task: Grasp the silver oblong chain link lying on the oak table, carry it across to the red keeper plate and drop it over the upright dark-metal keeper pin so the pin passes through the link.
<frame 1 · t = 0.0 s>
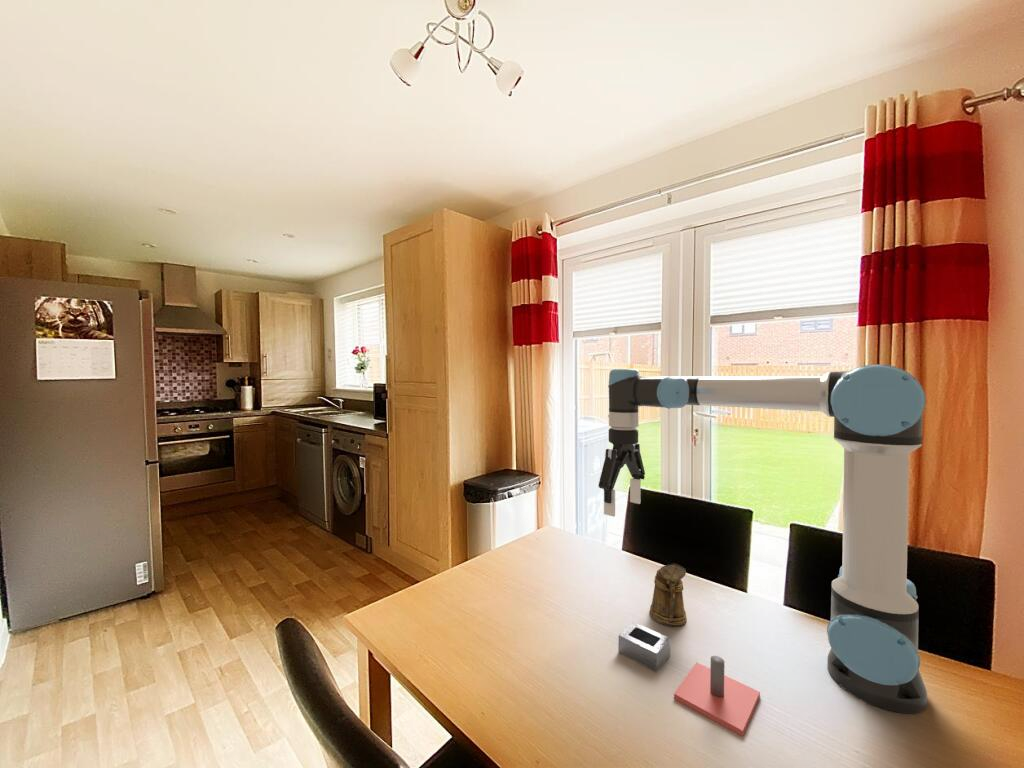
hand: (622, 508, 107), 28 cm above the table, fingers open, 13 cm apart
keeper: (717, 697, 79), on the table
wooden mug: (669, 622, 104), on the table
link: (644, 654, 92), on the table
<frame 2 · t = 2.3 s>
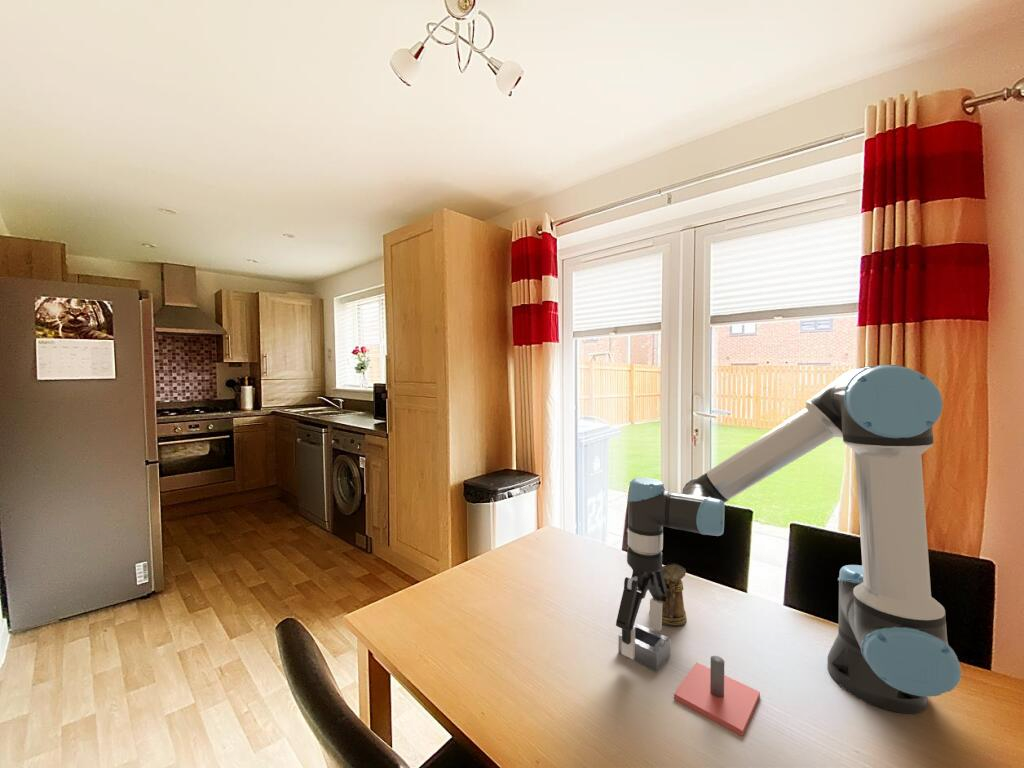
hand: (642, 641, 92), 3 cm above the table, fingers open, 13 cm apart
nothing on the table moved.
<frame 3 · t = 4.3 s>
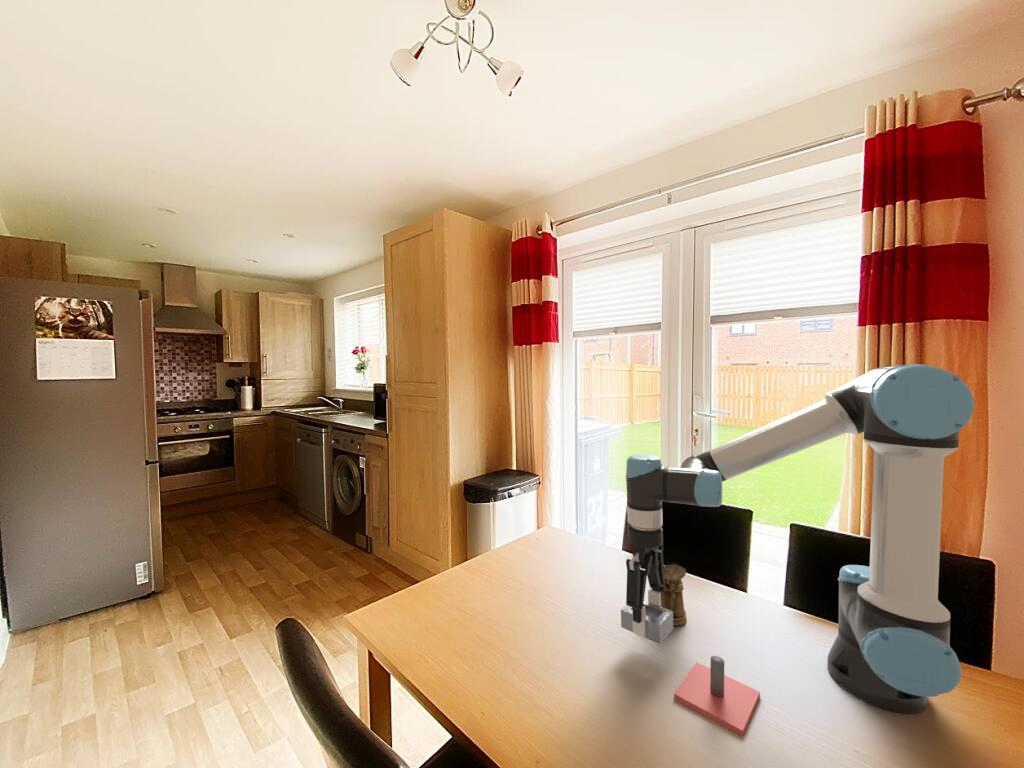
hand: (647, 626, 92), 6 cm above the table, fingers closed on link, 7 cm apart
link: (647, 628, 92), point 6 cm above the table, touching gripper
everything else where it was.
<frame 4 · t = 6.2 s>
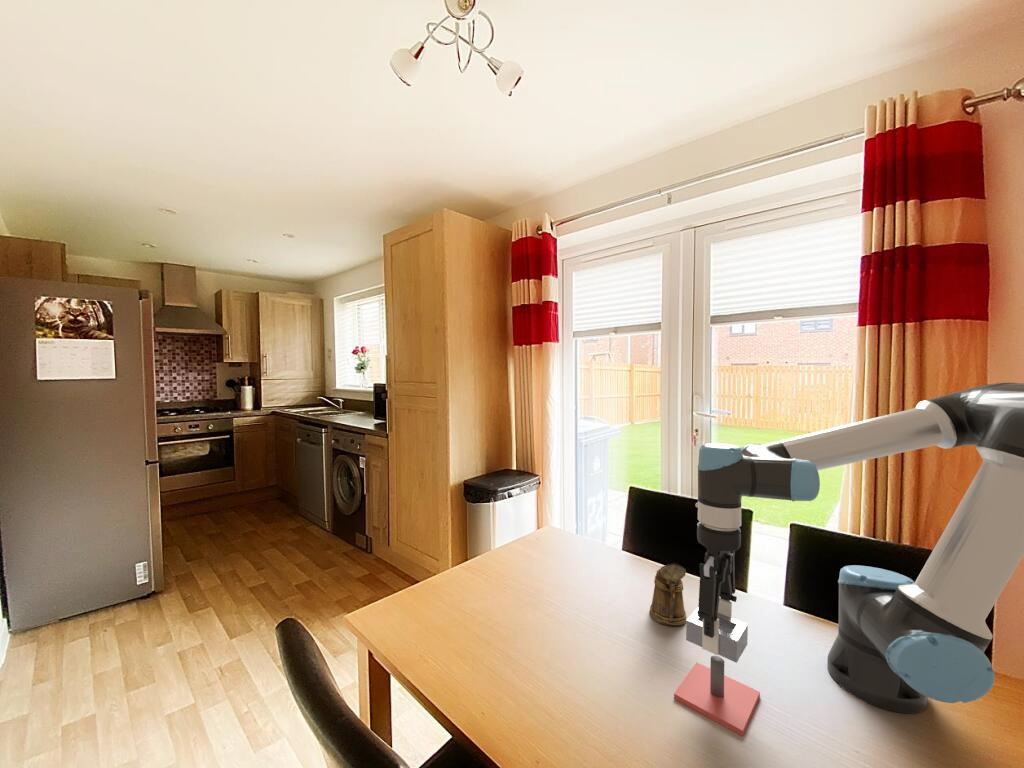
hand: (717, 641, 79), 11 cm above the table, fingers closed on link, 7 cm apart
link: (716, 642, 79), point 11 cm above the table, touching gripper
everything else where it was.
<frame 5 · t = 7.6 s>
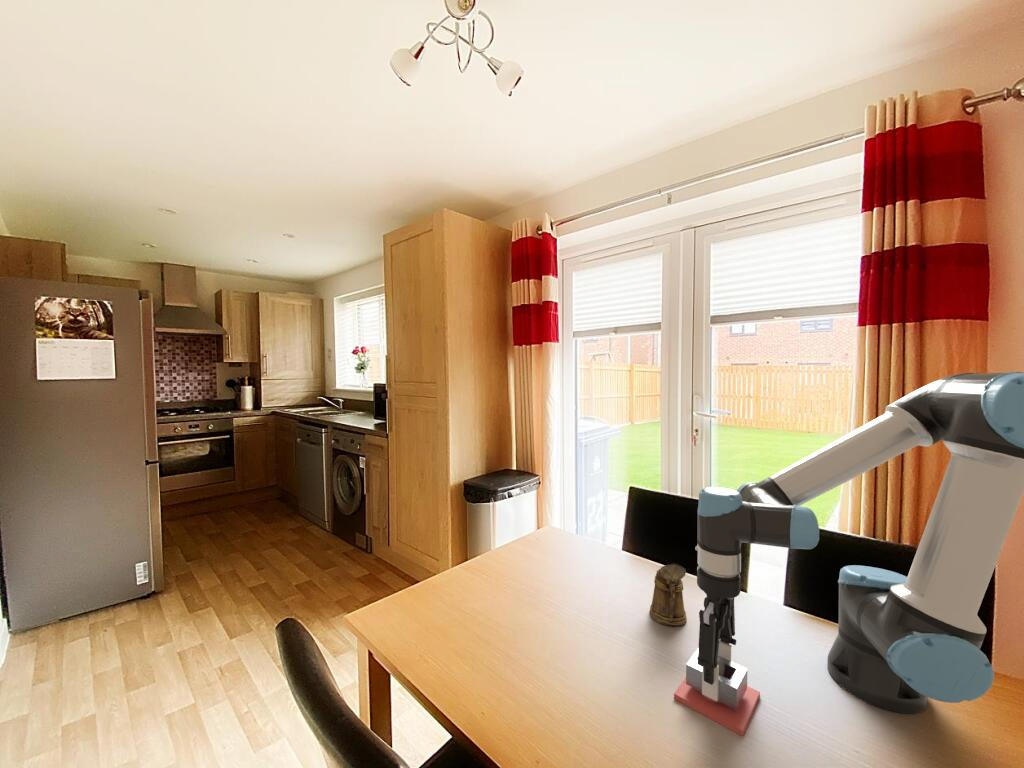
hand: (716, 685, 79), 2 cm above the table, fingers closed on link, 7 cm apart
link: (716, 686, 80), point 2 cm above the table, touching gripper
everything else where it was.
when the fingers open (2 cm above the table, at t = 8.5 s): link stays where it is, resting on keeper.
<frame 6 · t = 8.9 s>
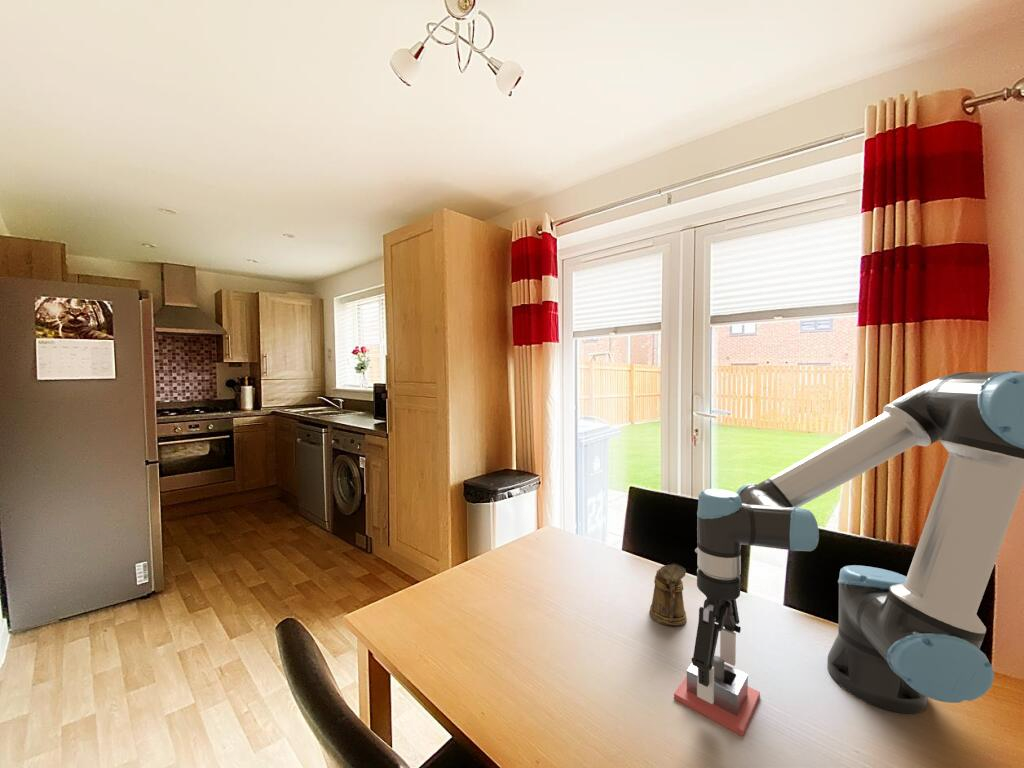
hand: (717, 679, 79), 4 cm above the table, fingers open, 13 cm apart
link: (716, 692, 80), point 1 cm above the table, touching keeper
everything else where it was.
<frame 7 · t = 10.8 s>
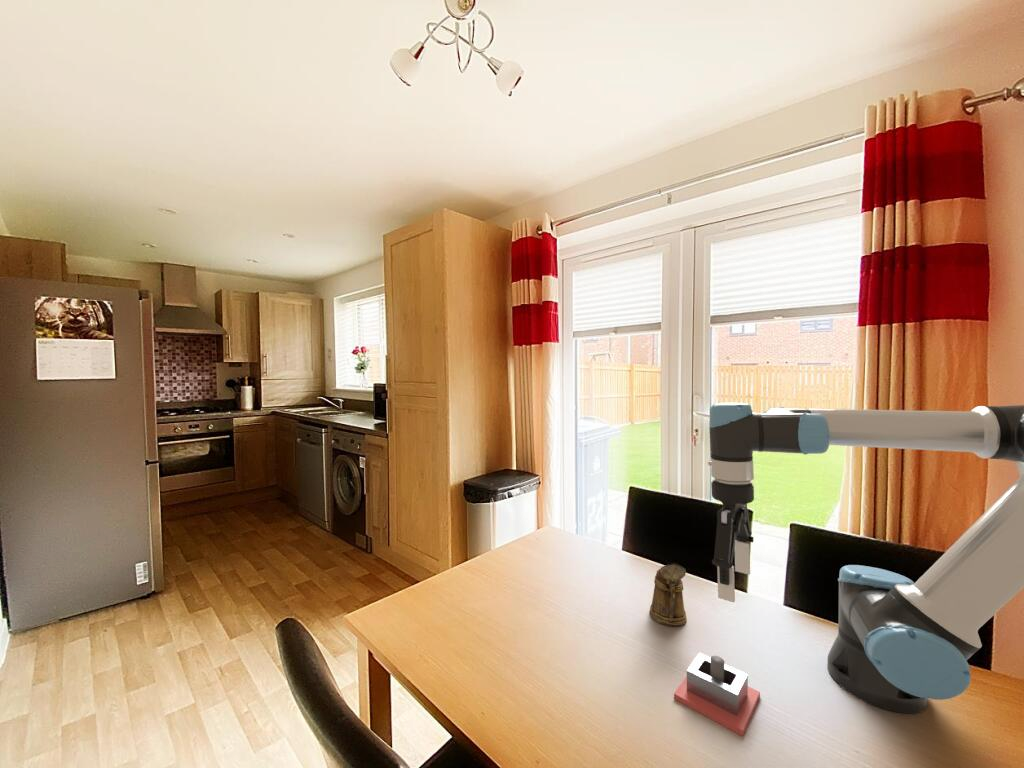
hand: (735, 585, 82), 21 cm above the table, fingers open, 13 cm apart
nothing on the table moved.
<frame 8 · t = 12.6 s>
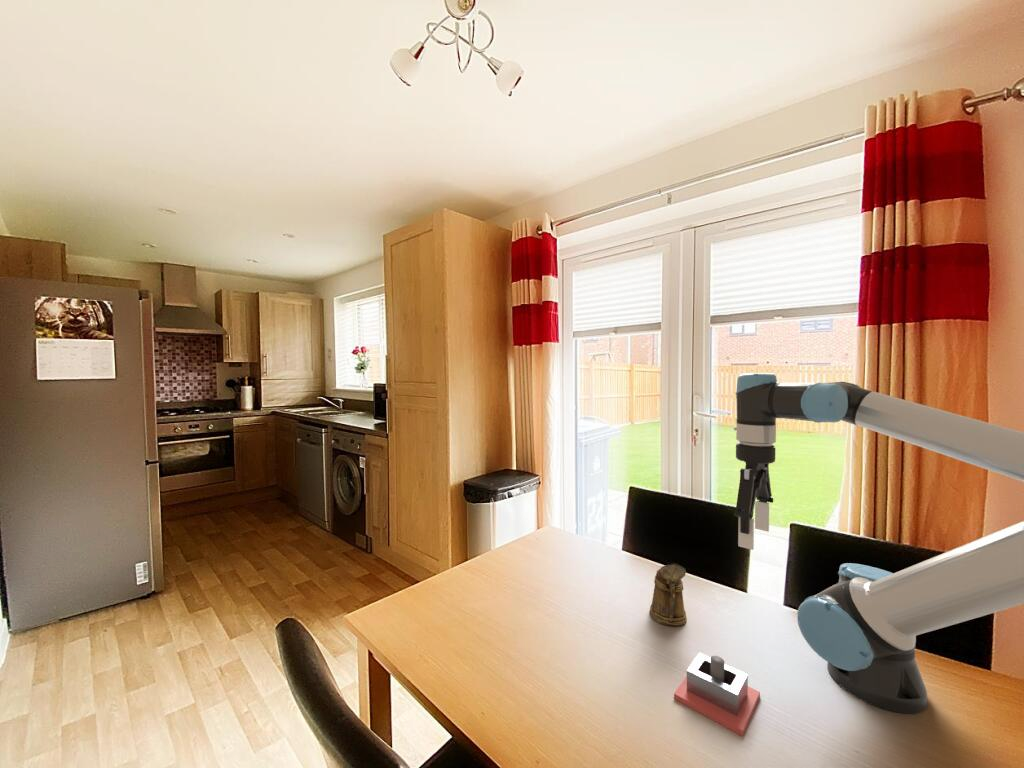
hand: (754, 538, 91), 27 cm above the table, fingers open, 13 cm apart
nothing on the table moved.
at the end: link 0.1 cm off-centre on the keeper, point 1.0 cm above the keeper's base; the gripper is holding nothing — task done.
